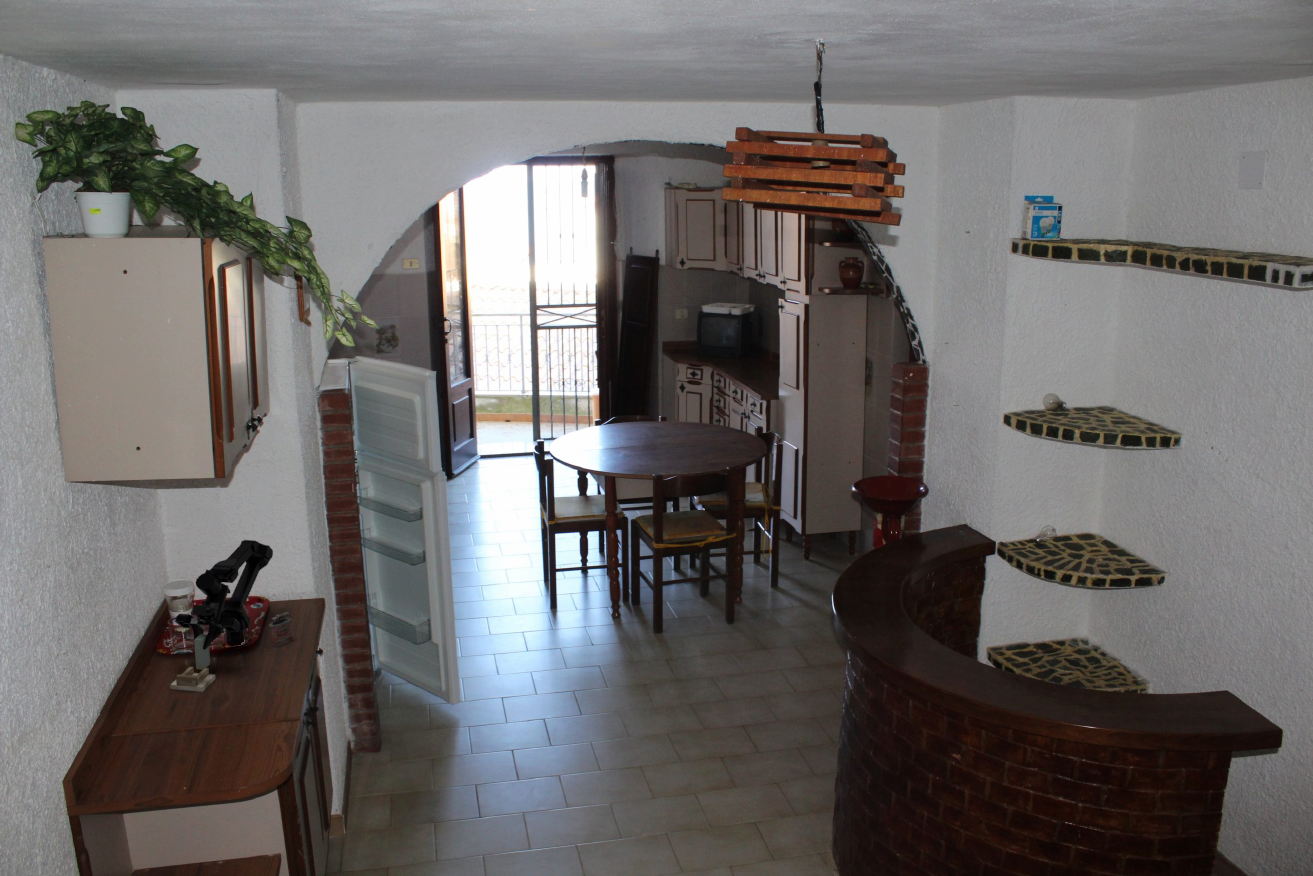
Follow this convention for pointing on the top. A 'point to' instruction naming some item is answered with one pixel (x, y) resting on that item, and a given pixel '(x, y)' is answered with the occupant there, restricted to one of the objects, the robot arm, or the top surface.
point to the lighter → (280, 630)
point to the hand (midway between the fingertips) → (199, 649)
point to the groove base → (193, 680)
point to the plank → (201, 652)
